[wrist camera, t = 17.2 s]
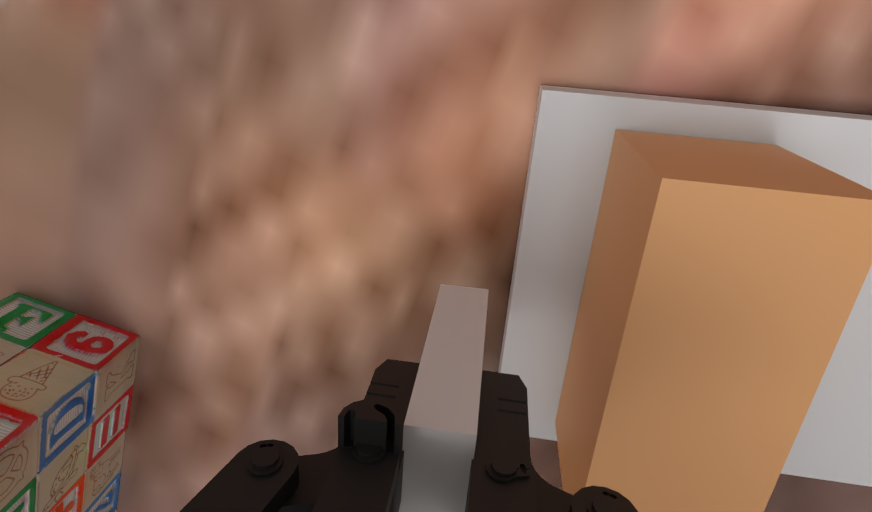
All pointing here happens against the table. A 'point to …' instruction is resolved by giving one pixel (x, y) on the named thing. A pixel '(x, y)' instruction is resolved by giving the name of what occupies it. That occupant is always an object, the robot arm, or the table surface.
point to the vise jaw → (706, 319)
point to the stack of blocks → (62, 408)
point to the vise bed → (574, 229)
